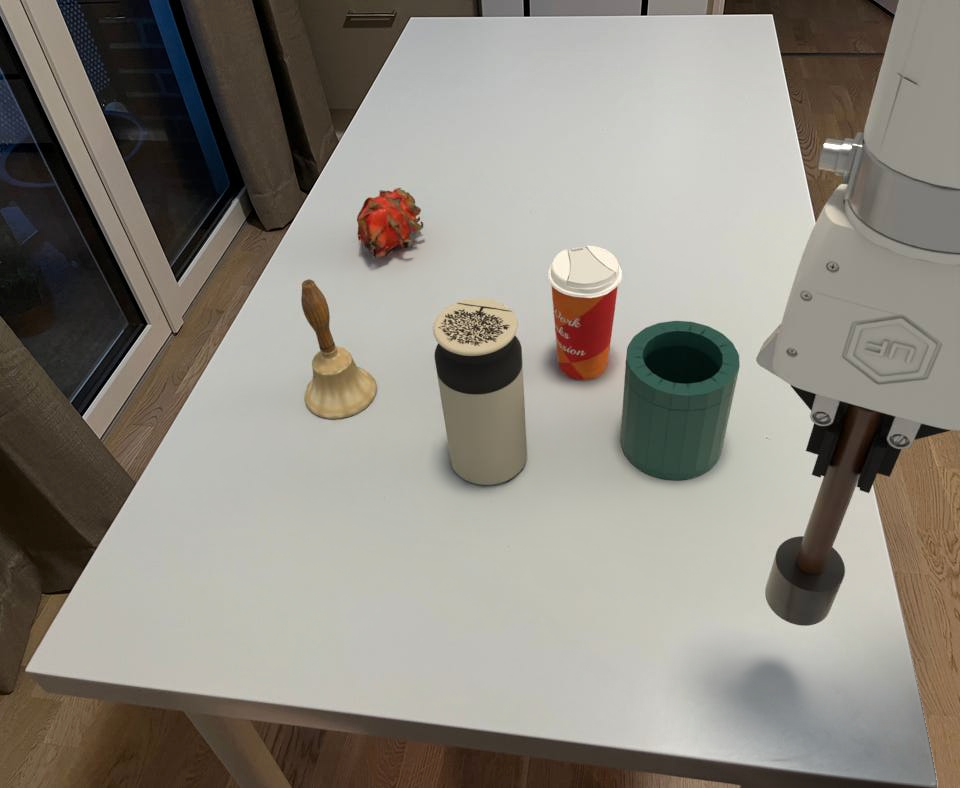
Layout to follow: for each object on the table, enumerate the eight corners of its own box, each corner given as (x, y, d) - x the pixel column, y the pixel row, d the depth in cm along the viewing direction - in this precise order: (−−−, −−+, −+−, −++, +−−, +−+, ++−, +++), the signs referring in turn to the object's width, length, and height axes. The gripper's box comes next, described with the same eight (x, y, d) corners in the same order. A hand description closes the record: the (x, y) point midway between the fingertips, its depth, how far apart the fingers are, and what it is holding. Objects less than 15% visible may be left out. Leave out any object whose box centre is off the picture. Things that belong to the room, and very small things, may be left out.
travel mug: (507, 497, 79) (496, 364, 66) (437, 472, 82) (413, 340, 69) (539, 441, 84) (534, 307, 71) (472, 420, 86) (456, 288, 74)
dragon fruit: (419, 229, 117) (384, 286, 110) (370, 196, 115) (331, 252, 108) (442, 197, 110) (406, 256, 103) (390, 160, 108) (350, 218, 101)
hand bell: (372, 418, 88) (344, 305, 77) (299, 421, 88) (260, 309, 77) (380, 366, 94) (355, 254, 82) (311, 369, 94) (277, 259, 83)
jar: (734, 424, 83) (753, 338, 75) (702, 494, 77) (719, 408, 69) (641, 395, 87) (650, 310, 79) (605, 459, 81) (609, 374, 73)
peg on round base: (836, 585, 57) (921, 385, 43) (822, 636, 54) (907, 440, 40) (774, 562, 59) (835, 363, 45) (757, 610, 56) (816, 414, 42)
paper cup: (542, 348, 94) (539, 249, 84) (604, 336, 94) (609, 237, 85) (559, 393, 88) (558, 293, 78) (626, 380, 89) (633, 279, 79)
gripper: (733, 193, 34) (691, 467, 47) (1180, 278, 28) (990, 568, 41) (780, 117, 39) (729, 387, 52) (1175, 176, 32) (1005, 466, 45)
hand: (845, 465), depth 46 cm, fingers closed on peg on round base
